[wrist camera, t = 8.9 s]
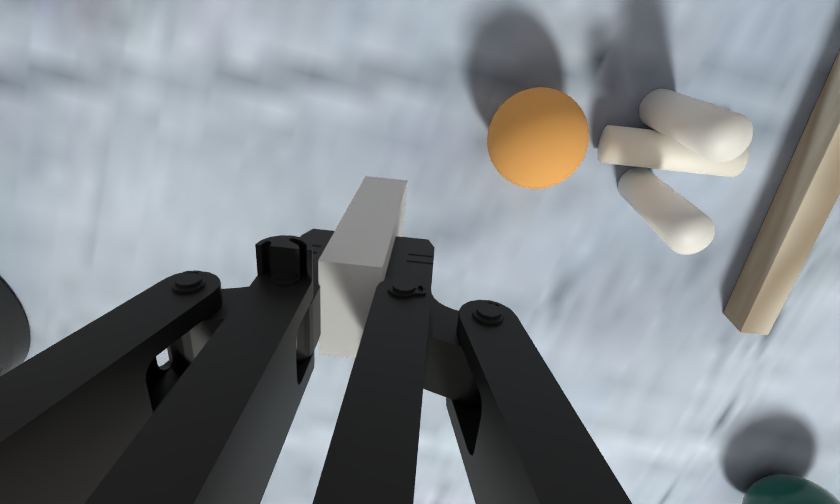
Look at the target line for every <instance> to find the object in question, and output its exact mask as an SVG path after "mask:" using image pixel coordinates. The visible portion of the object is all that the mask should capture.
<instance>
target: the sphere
mask: <svg viewBox="0 0 840 504" xmlns="http://www.w3.org/2000/svg"><path fill="white" fill-rule="evenodd" d="M742 504H840V502H839V501H838V499H837V498H836V497H835V496H834V495H833V494H831V493H830V492H829V491H828V490H827V489H825V488H823V487H822V486H820V485H818V484H816V483H814V482H812V481H809V480H807V479H805V478H802V477H798V476H793V475H787V474H777V475H771V476H766V477H764V478H762V479H759V480H757V481H756V482H755V483H753V484H752V485H751V486H750V487H749V489H748V490H747V492H746V493H745V495H744V498H743V502H742Z"/></svg>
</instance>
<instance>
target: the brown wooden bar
mask: <svg viewBox="0 0 840 504" xmlns="http://www.w3.org/2000/svg"><path fill="white" fill-rule="evenodd" d="M839 194H840V51H839V53H838V55H837V57H836V60H835V62H834V64H833V66H832V69H831V71H830V73H829V75H828V78H827V80H826V82H825V84H824V87H823V89H822V91H821V93H820V96H819V98H818V100H817V102H816V105H815V107H814V109H813V111H812V114H811V116H810V118H809V120H808V123H807V125H806V127H805V129H804V132H803V134H802V136H801V138H800V141H799V143H798V145H797V147H796V150H795V152H794V154H793V156H792V159H791V161H790V163H789V165H788V168H787V170H786V172H785V174H784V177H783V179H782V181H781V183H780V186H779V188H778V190H777V192H776V195H775V197H774V199H773V201H772V204H771V206H770V208H769V210H768V213H767V215H766V217H765V219H764V222H763V224H762V226H761V228H760V231H759V233H758V235H757V237H756V240H755V242H754V244H753V246H752V249H751V251H750V253H749V255H748V258H747V260H746V262H745V264H744V267H743V269H742V271H741V273H740V276H739V278H738V280H737V282H736V285H735V287H734V289H733V291H732V294H731V296H730V298H729V300H728V303H727V305H726V307H725V309H724V312H723V314H724V315H725V316H726V317H727V318H728V319H729V320H730V321H731V322H732V324H733V325H734V326H735V327H736V328H737V329H738V330H739V331H740V332H744V333H753V334H763V335H768V334H769V332H770V330H771V328H772V326H773V324H774V322H775V320H776V318H777V316H778V314H779V312H780V310H781V308H782V306H783V305H784V303H785V301H786V299H787V297H788V295H789V293H790V291H791V289H792V287H793V285H794V283H795V281H796V279H797V277H798V275H799V273H800V271H801V269H802V267H803V265H804V263H805V261H806V259H807V257H808V255H809V253H810V251H811V249H812V247H813V245H814V243H815V241H816V239H817V238H818V236H819V234H820V232H821V230H822V228H823V226H824V224H825V222H826V220H827V218H828V216H829V214H830V212H831V210H832V208H833V206H834V204H835V202H836V200H837V198H838V196H839Z"/></svg>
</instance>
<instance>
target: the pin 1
mask: <svg viewBox="0 0 840 504" xmlns="http://www.w3.org/2000/svg"><path fill="white" fill-rule="evenodd" d="M639 117H640V119H641V121H642V122H643V123H644V124H646V125H647V126H649V127H651V128H653V129H654V130H656V131H658V132H660V133H662V134H663V135H665V136H667V137H669V138H670V139H672V140H674V141H676V142H678V143H679V144H681V145H683V146H685V147H687V148H688V149H690V150H692V151H694V152H696V153H697V154H699V155H701V156H703V157H705V158H706V159H708V160H710V161H713V162H727V161H730V160H733V159H735V158H736V157H738V156H739V155H741V154H742V153H743V152H744V151H745V150H746V149H747V147H748V146H749V144H750V142H751V140H752V136H753V127H752V124H751V122H750V120H749V119H748V118H747V117H746V116H744V115H742V114H740V113H737V112H734V111H731V110H728V109H725V108H722V107H719V106H716V105H713V104H710V103H707V102H704V101H701V100H698V99H695V98H692V97H689V96H686V95H683V94H680V93H677V92H674V91H671V90H668V89H656V90H653V91H651V92H650V93H648V94H647V95H646V96H645V97H644V98H643V100H642V101H641V103H640V106H639Z"/></svg>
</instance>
